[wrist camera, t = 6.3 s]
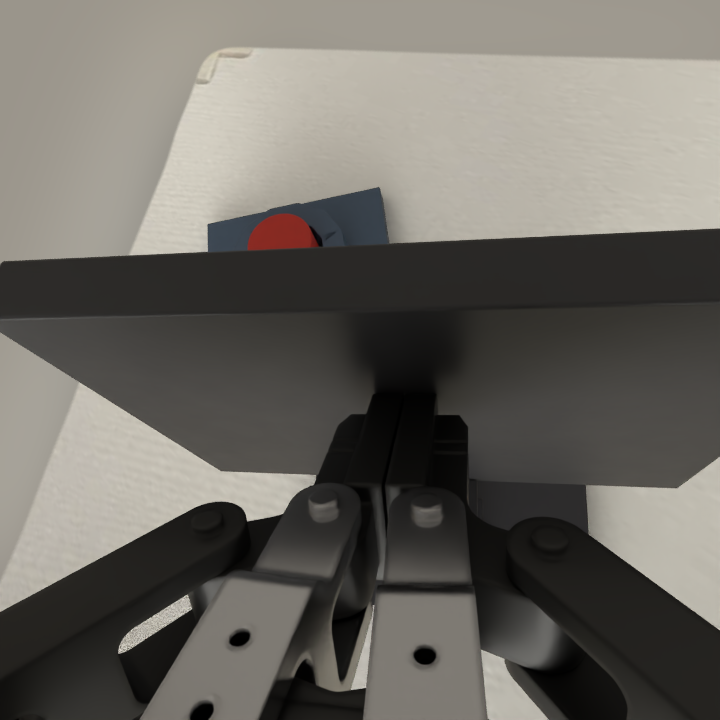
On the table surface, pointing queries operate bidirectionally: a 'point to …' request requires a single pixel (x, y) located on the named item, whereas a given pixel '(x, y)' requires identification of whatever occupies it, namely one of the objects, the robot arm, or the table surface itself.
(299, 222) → the power button
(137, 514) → the table surface
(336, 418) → the monitor screen
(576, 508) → the monitor stand
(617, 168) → the table surface
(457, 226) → the table surface
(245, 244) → the switch box
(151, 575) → the robot arm
